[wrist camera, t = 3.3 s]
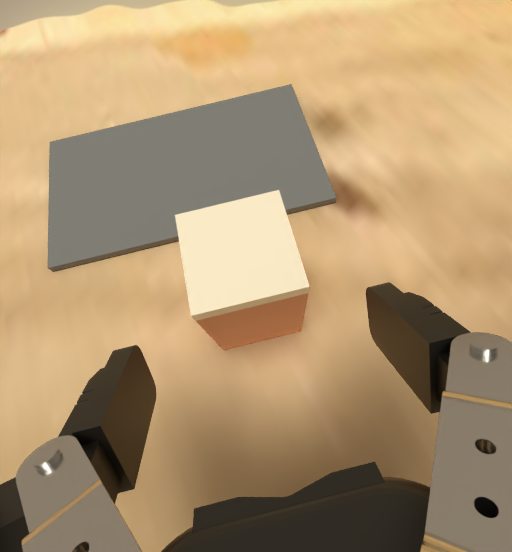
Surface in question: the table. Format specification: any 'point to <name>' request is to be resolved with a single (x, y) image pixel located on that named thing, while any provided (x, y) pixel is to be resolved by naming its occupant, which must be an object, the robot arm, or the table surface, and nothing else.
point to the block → (243, 270)
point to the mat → (177, 173)
